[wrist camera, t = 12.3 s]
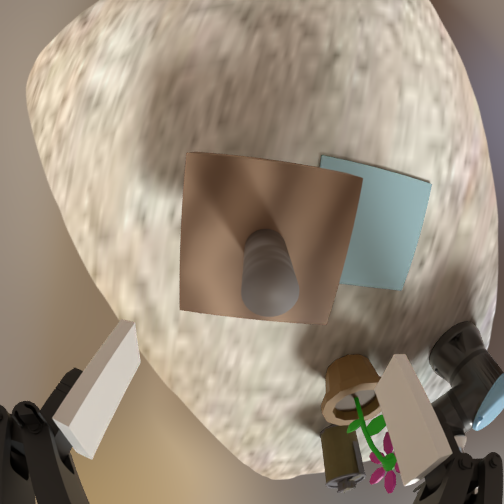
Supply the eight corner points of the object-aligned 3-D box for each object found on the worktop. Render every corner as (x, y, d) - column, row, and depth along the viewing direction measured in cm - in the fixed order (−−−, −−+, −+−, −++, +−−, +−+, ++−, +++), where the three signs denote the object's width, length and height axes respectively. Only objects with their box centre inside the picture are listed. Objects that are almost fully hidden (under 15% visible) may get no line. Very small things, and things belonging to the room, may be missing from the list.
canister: (338, 442, 65) (347, 496, 46) (312, 437, 64) (317, 495, 45) (363, 424, 61) (377, 481, 43) (337, 418, 60) (348, 481, 41)
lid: (347, 173, 28) (408, 194, 16) (318, 303, 34) (345, 377, 22) (196, 151, 28) (154, 156, 15) (188, 289, 34) (158, 362, 21)
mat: (430, 183, 38) (431, 184, 38) (400, 289, 45) (401, 290, 45) (321, 155, 38) (322, 155, 38) (298, 276, 45) (298, 278, 45)
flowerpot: (357, 394, 56) (383, 501, 28) (305, 386, 55) (316, 509, 27) (390, 352, 51) (439, 467, 23) (335, 340, 50) (371, 479, 22)
